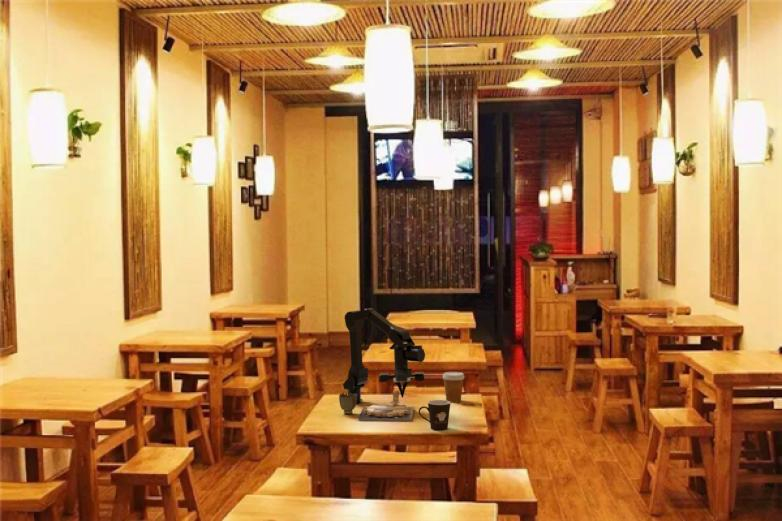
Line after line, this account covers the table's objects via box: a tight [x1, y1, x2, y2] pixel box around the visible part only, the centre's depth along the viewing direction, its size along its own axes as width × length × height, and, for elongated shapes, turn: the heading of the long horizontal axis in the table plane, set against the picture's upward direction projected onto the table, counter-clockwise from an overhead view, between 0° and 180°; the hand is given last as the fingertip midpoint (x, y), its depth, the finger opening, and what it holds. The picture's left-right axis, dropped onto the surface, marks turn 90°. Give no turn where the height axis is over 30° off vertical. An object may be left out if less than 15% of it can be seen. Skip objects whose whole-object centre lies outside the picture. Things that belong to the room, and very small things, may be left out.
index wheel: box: [364, 390, 411, 417], centre depth 345 cm, size 20×19×6 cm
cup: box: [338, 392, 357, 415], centre depth 347 cm, size 8×7×8 cm
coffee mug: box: [418, 399, 452, 432], centre depth 322 cm, size 12×9×10 cm
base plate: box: [357, 405, 415, 422], centre depth 345 cm, size 21×21×1 cm
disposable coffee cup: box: [442, 371, 465, 403], centre depth 369 cm, size 10×10×12 cm
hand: (402, 397), depth 354 cm, fingers closed
